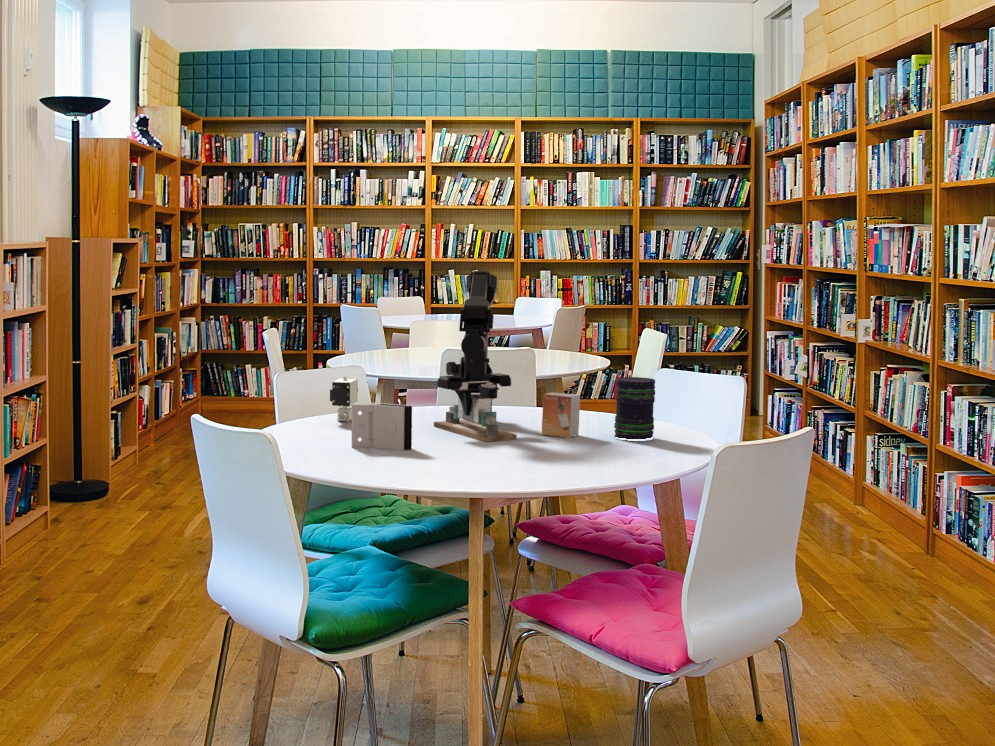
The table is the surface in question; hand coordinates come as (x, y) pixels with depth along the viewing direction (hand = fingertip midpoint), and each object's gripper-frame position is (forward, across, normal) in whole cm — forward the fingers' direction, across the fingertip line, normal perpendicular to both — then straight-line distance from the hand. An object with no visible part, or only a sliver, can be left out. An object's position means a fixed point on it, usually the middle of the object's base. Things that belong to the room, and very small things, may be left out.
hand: (474, 415), depth 271 cm
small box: (+5, -18, +13) cm, 22 cm away
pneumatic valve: (+5, +22, -31) cm, 39 cm away
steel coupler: (+1, 0, 0) cm, 1 cm away
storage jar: (+5, -32, +25) cm, 41 cm away
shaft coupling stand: (+4, 0, 0) cm, 5 cm away
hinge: (+5, +30, +9) cm, 32 cm away
